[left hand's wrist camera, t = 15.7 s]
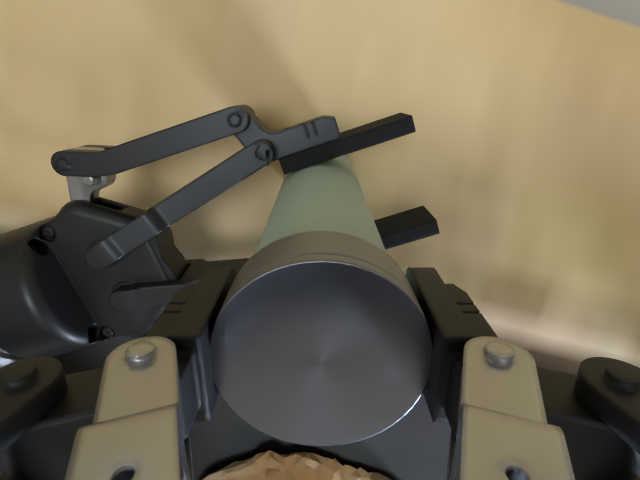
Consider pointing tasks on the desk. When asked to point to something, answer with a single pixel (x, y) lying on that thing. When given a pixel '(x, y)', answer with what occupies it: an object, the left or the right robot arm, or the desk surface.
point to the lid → (321, 341)
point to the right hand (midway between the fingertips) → (418, 172)
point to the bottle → (321, 204)
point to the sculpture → (291, 469)
